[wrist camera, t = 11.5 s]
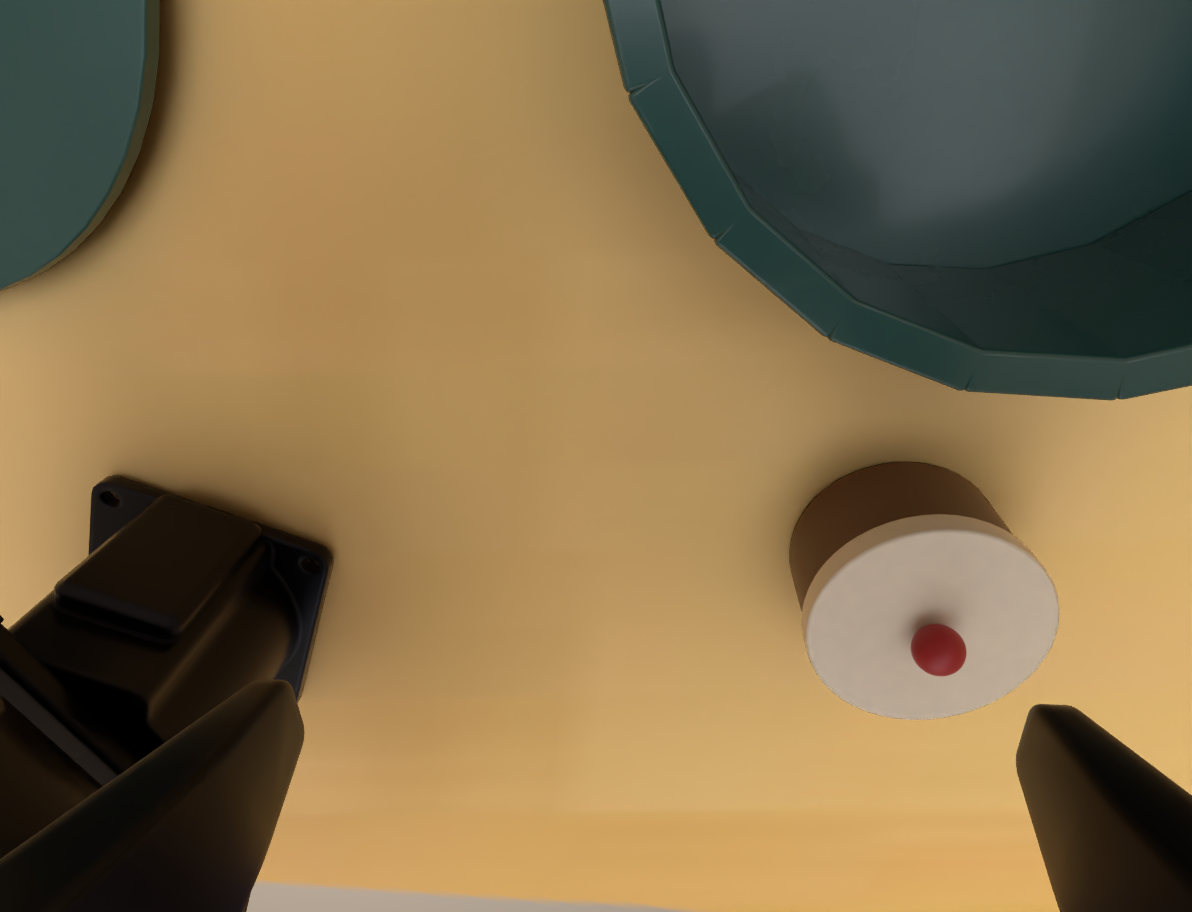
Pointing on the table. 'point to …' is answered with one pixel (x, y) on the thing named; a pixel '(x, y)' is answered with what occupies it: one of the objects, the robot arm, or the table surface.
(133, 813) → the robot arm
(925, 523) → the cake
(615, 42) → the pot
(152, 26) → the pot lid
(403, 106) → the table surface
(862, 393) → the table surface
